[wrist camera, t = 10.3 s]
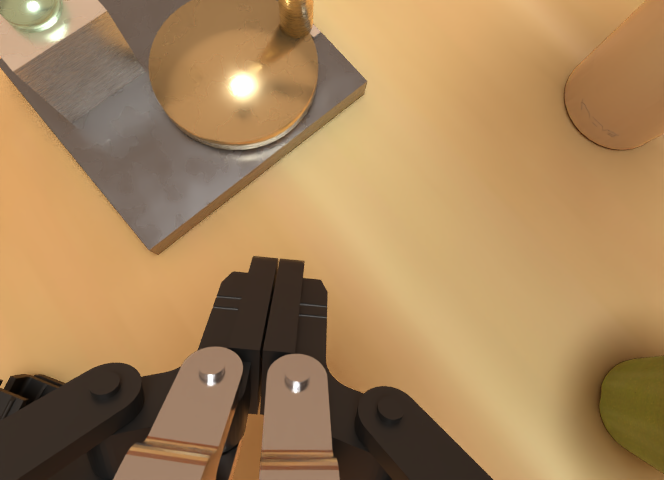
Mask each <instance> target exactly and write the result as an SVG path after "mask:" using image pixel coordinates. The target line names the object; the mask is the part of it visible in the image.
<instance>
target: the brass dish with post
mask: <svg viewBox="0 0 664 480" xmlns="http://www.w3.org/2000/svg"><path fill="white" fill-rule="evenodd" d="M312 27H313V0H278V1H276V0H191V1H189V2H187V3H186V4H184V5H183V6H181V7H180V8H178V9H177V10H176V11H175V12H174V13H173V14H171V15H170V16H169V17H168V19H167V20H166V21H165V22H164V23H163V25H162V26H161V28H160V29H159V31H158V32H157V34H156V36H155V38H154V41H153V44H152V47H151V50H150V56H149V77H150V82H151V86H152V89H153V92H154V94H155V96H156V98H157V100H158V102H159V103H160V105H161V106H162V108H163V109H164V111H165V112H166V114H167V115H168V117H169V118H170V120H171V121H172V122H173V123H174V124H175V125H176V126H177V127H178V128H179V129H180V130H181V131H182V132H184V133H185V134H186V135H188V136H189V137H191V138H192V139H194V140H196V141H199V142H201V143H203V144H206V145H209V146H212V147H216V148H221V149H228V150H245V149H252V148H257V147H260V146H264V145H267V144H269V143H272V142H274V141H276V140H278V139H280V138H281V137H283V136H285V135H286V134H287V133H289V132H290V131H291V130H293V129H294V128H295V127H296V126H297V125H298V124H299V123H300V122H301V120H302V119H303V118H304V116H305V115H306V114H307V112H308V110H309V108H310V107H311V105H312V102H313V99H314V97H315V93H316V88H317V79H318V56H317V51H316V47H315V44H314V41H313V38H312V36H311V34H310V32H311V30H312Z"/></svg>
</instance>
